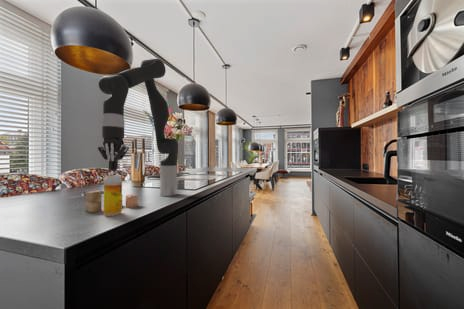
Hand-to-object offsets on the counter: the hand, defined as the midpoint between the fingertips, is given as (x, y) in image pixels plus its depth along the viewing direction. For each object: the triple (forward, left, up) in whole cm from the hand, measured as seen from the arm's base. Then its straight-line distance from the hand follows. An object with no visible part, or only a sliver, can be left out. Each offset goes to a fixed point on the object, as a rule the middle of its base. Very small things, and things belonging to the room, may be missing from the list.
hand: (113, 170), depth 80 cm
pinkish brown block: (-13, -1, -17) cm, 21 cm away
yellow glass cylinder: (0, 0, -17) cm, 17 cm away
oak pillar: (-3, -12, -17) cm, 21 cm away
